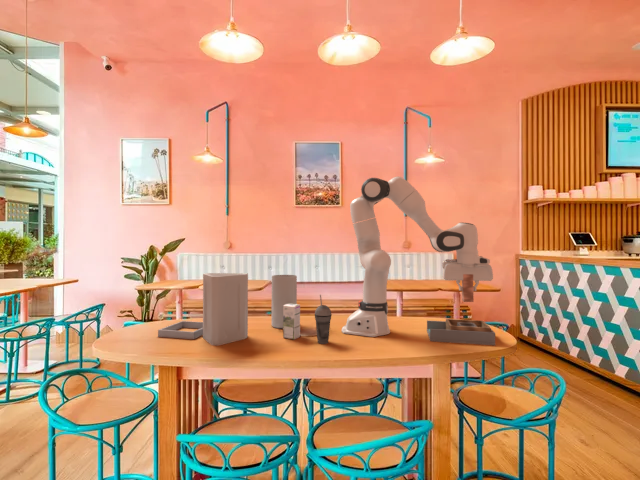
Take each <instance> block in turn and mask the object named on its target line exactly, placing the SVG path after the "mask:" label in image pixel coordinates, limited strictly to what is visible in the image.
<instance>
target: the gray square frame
mask: <svg viewBox="0 0 640 480" xmlns="http://www.w3.org/2000/svg"><path fill="white" fill-rule="evenodd" d="M182 328H185V329H186V328H188V329H196V330H194V331H186V330H180V329H182ZM157 337H159V338H170V339H172V338H173V339H183V340H184V339H186V340H195V339H197V338H199V337H203V321H192V320H191V321H189V320H181V321H179V322H176V323H173V324H170V325H168V326H165V327H162V328H159V329H158V330H157Z"/></svg>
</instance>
